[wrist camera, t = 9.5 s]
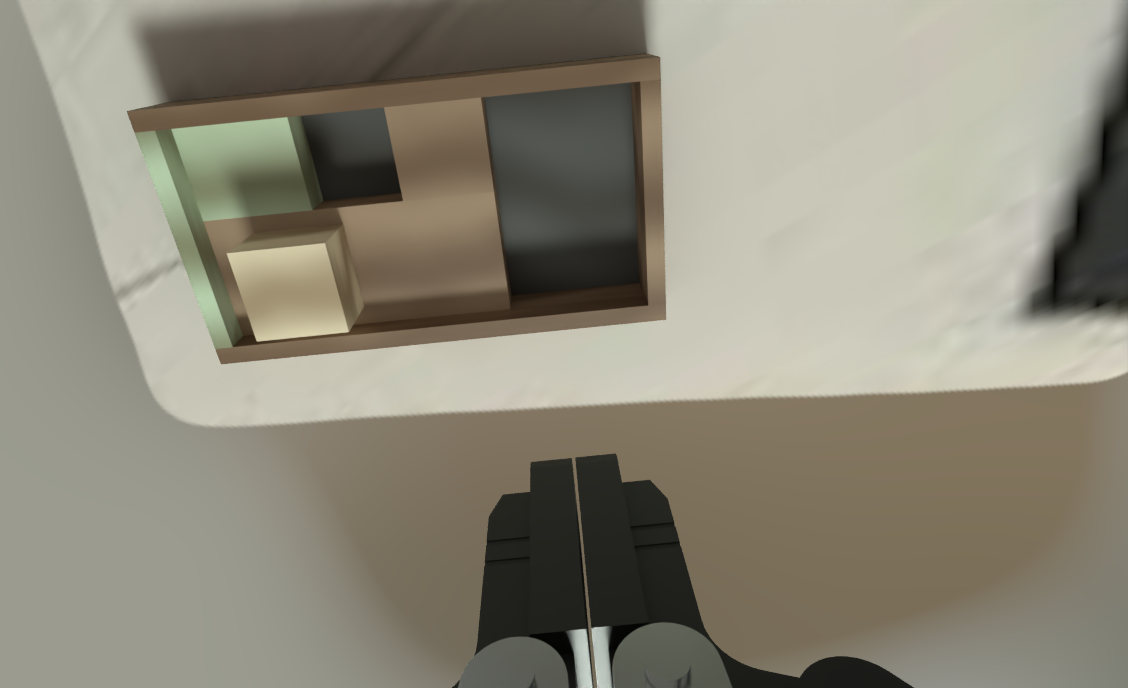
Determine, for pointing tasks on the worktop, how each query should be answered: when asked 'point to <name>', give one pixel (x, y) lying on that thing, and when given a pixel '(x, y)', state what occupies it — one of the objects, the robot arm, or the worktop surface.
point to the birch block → (297, 282)
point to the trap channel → (429, 198)
